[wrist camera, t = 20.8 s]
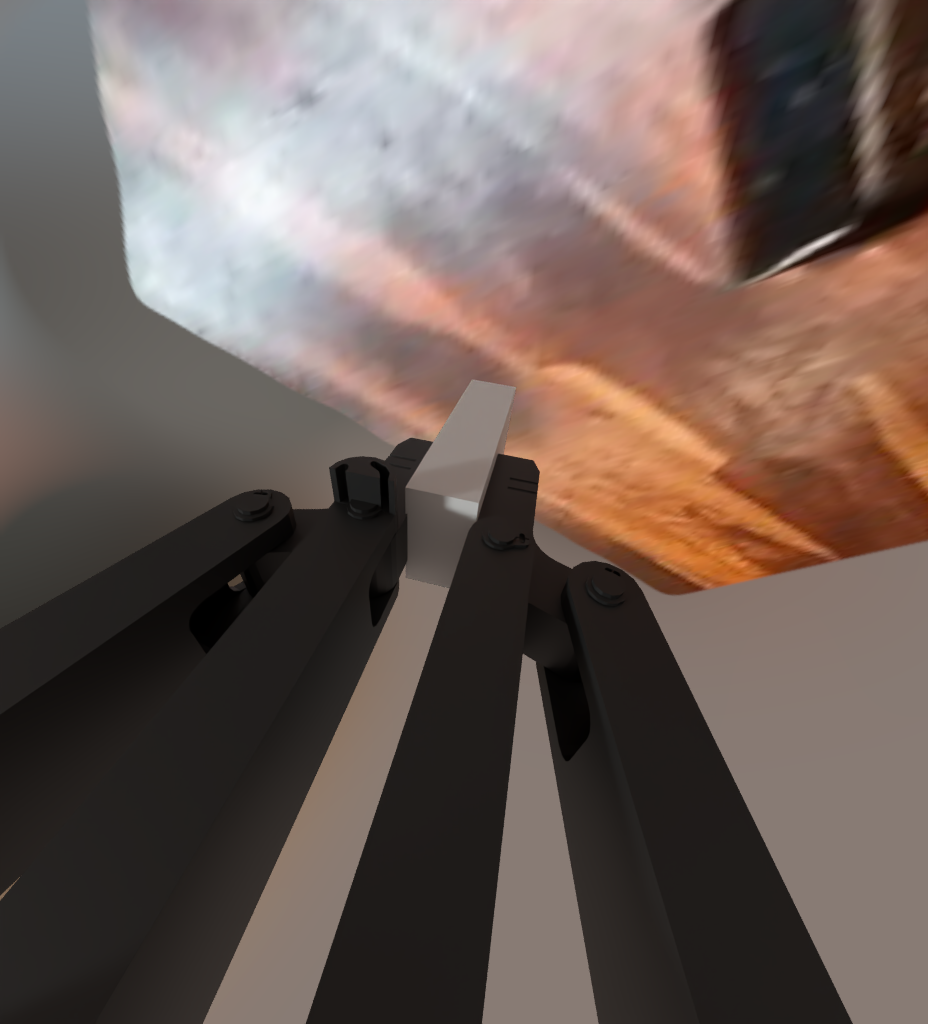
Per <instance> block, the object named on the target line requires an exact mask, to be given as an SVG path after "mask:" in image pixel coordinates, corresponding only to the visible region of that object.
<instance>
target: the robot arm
mask: <svg viewBox="0 0 928 1024" xmlns="http://www.w3.org/2000/svg"><path fill="white" fill-rule="evenodd" d="M515 391H516V387H512V386H506V385H500V384H494V383H489V382H483V381H477V380H471V382H470V384H469V385H468V387H467V389H466V390H465V392H464V393H463V395H462V397H461V398H460V400H459V401H458V403H457V405H456V406H455V408H454V410H453V411H452V413H451V414H450V416H449V418H448V419H447V421H446V422H445V424H444V426H443V427H442V429H441V431H440V432H439V434H438V435H437V437H436V439H435V440H434V442H431V441H426V440H420V439H415V438H409V439H407V440H406V441H404V442H402V443H400V444H398V445H397V446H396V447H395V449H394V450H393V451H392V453H391V454H390V456H388V458H387V459H386V460H385V461H384V460H381V459H378V458H374V457H364V456H362V457H352V458H347V459H344V460H341V461H339V462H337V463H335V464H334V465H332V466H331V467H329V469H330V476H331V481H332V488H333V494H334V503H333V504H332V505H331V506H330V507H329V509H295V510H294V509H292V505H291V502H290V500H289V498H288V497H287V496H286V495H284V494H283V493H281V492H278V491H274V490H254V491H249V492H244V493H241V494H239V495H237V496H234V497H232V498H230V499H228V500H226V501H225V502H223V503H221V504H220V505H218V506H216V507H214V508H212V509H211V510H209V511H207V512H205V513H204V514H202V515H200V516H198V517H196V518H195V519H193V520H191V521H190V522H188V523H186V524H184V525H182V526H181V527H179V528H177V529H175V530H174V531H172V532H170V533H168V534H167V535H165V536H163V537H161V538H159V539H158V540H156V541H154V542H152V543H151V544H149V545H147V546H145V547H144V548H142V549H140V550H138V551H137V552H135V553H133V554H131V555H129V556H128V557H126V558H124V559H122V560H121V561H119V562H117V563H115V564H114V565H112V566H110V567H109V568H107V569H105V570H103V571H101V572H99V573H98V574H96V575H94V576H92V577H91V578H89V579H87V580H85V581H84V582H82V583H80V584H78V585H77V586H75V587H73V588H72V589H70V590H68V591H66V592H64V593H62V594H61V595H59V596H57V597H55V598H54V599H52V600H50V601H48V602H47V603H45V604H43V605H41V606H39V607H38V608H36V609H35V610H32V611H31V612H29V613H27V614H26V615H24V616H22V617H20V618H18V619H17V620H15V621H13V622H11V623H10V624H8V625H6V626H4V627H2V628H1V629H0V895H1V894H2V893H3V892H4V891H5V890H6V889H7V888H9V886H11V885H12V884H13V883H14V882H15V881H16V880H17V879H18V878H19V877H20V876H21V877H20V878H19V879H18V880H17V882H16V883H15V884H14V885H13V886H12V887H11V889H10V890H9V891H8V892H7V893H6V894H5V896H4V897H3V898H2V899H1V901H0V1024H203V1022H204V1019H205V1017H206V1015H207V1013H208V1011H209V1009H210V1006H211V1004H212V1002H213V1000H214V998H215V995H216V993H217V991H218V989H219V987H220V984H221V982H222V980H223V978H224V976H225V973H226V971H227V969H228V967H229V964H230V962H231V960H232V958H233V956H234V954H235V951H236V949H237V947H238V945H239V943H240V940H241V938H242V936H243V934H244V932H245V929H246V927H247V925H248V923H249V921H250V918H251V916H252V914H253V912H254V909H255V908H256V905H257V903H258V901H259V899H260V897H261V894H262V892H263V890H264V888H265V886H266V883H267V881H268V879H269V877H270V875H271V872H272V870H273V868H274V866H275V864H276V861H277V859H278V857H279V855H280V853H281V851H282V848H283V846H284V844H285V842H286V840H287V837H288V835H289V833H290V831H291V828H292V826H293V824H294V822H295V820H296V817H297V815H298V813H299V811H300V809H301V807H302V804H303V802H304V800H305V798H306V795H307V793H308V791H309V789H310V787H311V785H312V782H313V780H314V778H315V776H316V774H317V771H318V769H319V767H320V765H321V763H322V760H323V758H324V756H325V754H326V752H327V750H328V747H329V745H330V743H331V741H332V738H333V736H334V734H335V732H336V730H337V728H338V725H339V723H340V721H341V719H342V717H343V714H344V712H345V710H346V708H347V706H348V703H349V701H350V699H351V697H352V695H353V692H354V690H355V688H356V686H357V684H358V682H359V679H360V677H361V675H362V673H363V670H364V668H365V666H366V664H367V662H368V660H369V657H370V655H371V653H372V651H373V649H374V646H375V644H376V642H377V640H378V638H379V635H380V633H381V631H382V629H383V627H384V624H385V622H386V620H387V618H388V616H389V614H390V611H391V609H392V607H393V605H394V602H395V600H396V598H397V596H398V591H399V577H400V575H401V573H402V571H403V569H404V566H405V565H406V578H409V579H413V580H418V581H422V582H426V583H430V584H434V585H438V586H442V587H447V588H450V589H449V592H448V595H447V598H446V601H445V604H444V607H443V610H442V613H441V616H440V619H439V622H438V625H437V628H436V631H435V634H434V637H433V640H432V643H431V646H430V649H429V652H428V656H427V658H426V661H425V665H424V667H423V670H422V674H421V677H420V679H419V683H418V686H417V689H416V692H415V695H414V698H413V701H412V704H411V707H410V710H409V713H408V716H407V719H406V722H405V725H404V728H403V731H402V734H401V737H400V740H399V743H398V746H397V749H396V752H395V755H394V758H393V761H392V764H391V767H390V771H389V773H388V776H387V780H386V783H385V786H384V789H383V792H382V795H381V798H380V801H379V804H378V807H377V810H376V813H375V816H374V819H373V822H372V825H371V828H370V831H369V834H368V837H367V840H366V843H365V846H364V849H363V852H362V855H361V858H360V861H359V865H358V867H357V870H356V873H355V876H354V880H353V882H352V885H351V889H350V891H349V894H348V898H347V900H346V904H345V907H344V910H343V913H342V916H341V919H340V922H339V925H338V928H337V931H336V934H335V937H334V940H333V943H332V946H331V949H330V952H329V955H328V958H327V961H326V965H325V967H324V970H323V973H322V976H321V979H320V982H319V985H318V988H317V991H316V995H315V997H314V1000H313V1004H312V1006H311V1009H310V1013H309V1015H308V1019H307V1022H306V1024H482V1016H483V1008H484V999H485V989H486V981H487V972H488V962H489V953H490V944H491V936H492V926H493V917H494V908H495V899H496V890H497V881H498V872H499V862H500V854H501V845H502V844H501V843H502V836H503V827H504V817H505V809H506V800H507V791H508V782H509V773H510V763H511V754H512V745H513V736H514V727H515V718H516V709H517V700H518V691H519V681H520V672H521V663H522V655H523V654H525V655H526V656H528V657H529V658H531V659H533V660H534V661H536V667H537V672H538V678H539V684H540V690H541V696H542V701H543V707H544V712H545V718H546V724H547V729H548V736H549V741H550V747H551V752H552V759H553V764H554V770H555V775H556V781H557V787H558V792H559V798H560V804H561V810H562V815H563V821H564V827H565V833H566V838H567V844H568V850H569V855H570V861H571V867H572V873H573V879H574V884H575V890H576V896H577V902H578V907H579V913H580V919H581V925H582V930H583V936H584V942H585V947H586V953H587V959H588V964H589V970H590V976H591V981H592V987H593V993H594V999H595V1005H596V1010H597V1016H598V1022H599V1024H853V1023H852V1021H851V1020H850V1017H849V1015H848V1013H847V1011H846V1009H845V1007H844V1005H843V1003H842V1001H841V999H840V997H839V995H838V993H837V991H836V988H835V987H834V984H833V983H832V980H831V978H830V976H829V974H828V972H827V970H826V968H825V966H824V964H823V962H822V960H821V958H820V956H819V954H818V951H817V949H816V948H815V945H814V943H813V941H812V939H811V937H810V935H809V933H808V931H807V929H806V927H805V925H804V923H803V921H802V919H801V917H800V915H799V913H798V910H797V908H796V906H795V904H794V902H793V900H792V898H791V896H790V894H789V892H788V890H787V888H786V886H785V884H784V882H783V880H782V877H781V875H780V873H779V871H778V869H777V867H776V866H775V863H774V861H773V859H772V857H771V855H770V853H769V851H768V849H767V847H766V845H765V842H764V840H763V838H762V837H761V834H760V832H759V830H758V828H757V826H756V824H755V822H754V820H753V818H752V816H751V814H750V812H749V810H748V808H747V805H746V803H745V802H744V800H743V797H742V795H741V793H740V791H739V789H738V787H737V785H736V783H735V781H734V779H733V777H732V775H731V773H730V771H729V768H728V767H727V764H726V762H725V760H724V758H723V756H722V754H721V752H720V750H719V748H718V746H717V744H716V742H715V740H714V738H713V736H712V734H711V731H710V729H709V727H708V725H707V723H706V721H705V719H704V717H703V715H702V713H701V711H700V709H699V707H698V705H697V703H696V701H695V699H694V697H693V694H692V692H691V690H690V688H689V686H688V684H687V682H686V680H685V678H684V676H683V674H682V672H681V670H680V668H679V666H678V664H677V662H676V660H675V658H674V655H673V653H672V651H671V649H670V647H669V645H668V643H667V641H666V639H665V637H664V635H663V633H662V631H661V629H660V627H659V625H658V623H657V620H656V618H655V616H654V614H653V612H652V610H651V608H650V606H649V604H648V602H647V600H646V598H645V596H644V594H643V592H642V590H641V589H640V587H639V586H638V584H637V583H636V582H635V580H634V579H633V578H632V577H630V576H629V575H628V574H627V573H625V572H624V571H623V570H621V569H619V568H617V567H615V566H613V565H610V564H608V563H602V562H597V561H590V562H582V563H580V564H579V565H577V566H575V567H574V568H573V569H571V568H569V567H567V566H565V565H563V564H561V563H559V562H557V561H555V560H554V559H552V558H550V557H549V556H547V555H546V554H545V553H544V552H543V551H542V550H541V549H540V548H539V547H538V545H537V544H536V542H535V540H534V537H533V525H534V516H535V508H536V499H537V491H538V482H539V473H540V471H539V470H538V468H537V466H536V464H535V463H534V461H533V460H528V459H523V458H518V457H513V456H508V455H503V454H504V449H505V444H506V438H507V433H508V428H509V422H510V417H511V412H512V407H513V401H514V396H515ZM239 574H240V575H241V577H242V579H243V581H242V582H241V583H239V584H237V585H236V586H234V587H229V585H228V582H229V581H231V580H232V579H234V578H235V577H236V576H237V575H239Z"/></svg>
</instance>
